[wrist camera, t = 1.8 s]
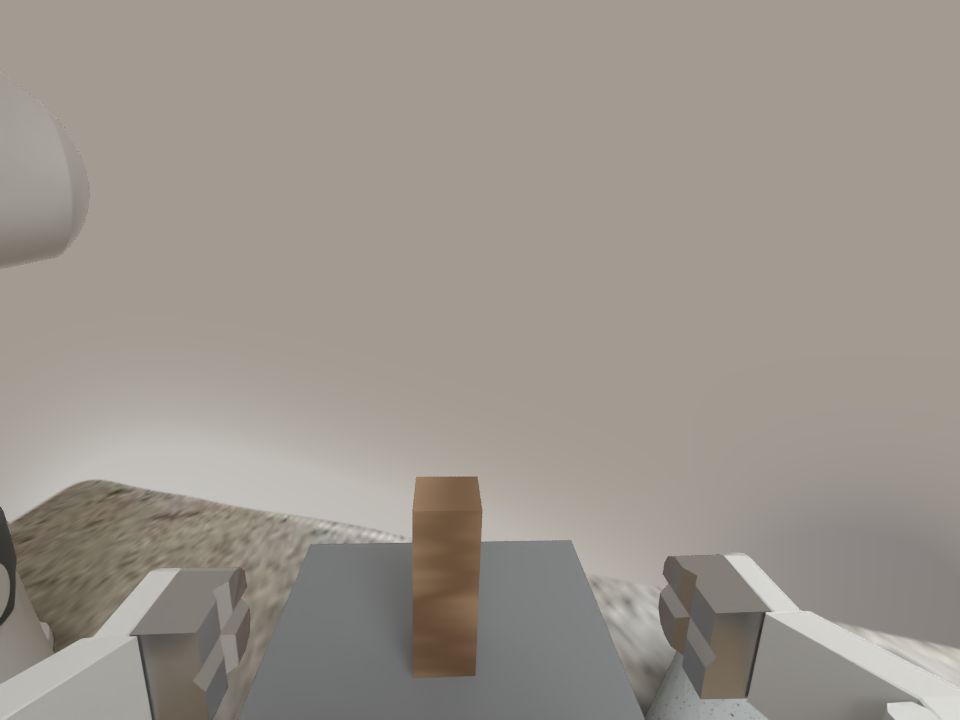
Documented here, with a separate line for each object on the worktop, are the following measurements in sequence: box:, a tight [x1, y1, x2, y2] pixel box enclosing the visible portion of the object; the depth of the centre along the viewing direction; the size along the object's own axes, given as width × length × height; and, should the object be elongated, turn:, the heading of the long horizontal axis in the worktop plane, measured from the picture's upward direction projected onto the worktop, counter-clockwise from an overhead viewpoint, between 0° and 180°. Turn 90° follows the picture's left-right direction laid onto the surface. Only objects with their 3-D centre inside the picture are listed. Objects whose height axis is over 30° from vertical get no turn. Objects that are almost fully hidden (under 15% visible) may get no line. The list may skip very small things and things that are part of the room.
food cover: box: [237, 477, 645, 720], centre depth 25 cm, size 18×18×20 cm
